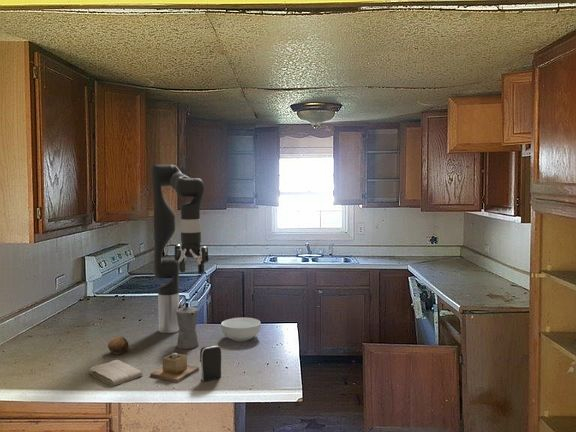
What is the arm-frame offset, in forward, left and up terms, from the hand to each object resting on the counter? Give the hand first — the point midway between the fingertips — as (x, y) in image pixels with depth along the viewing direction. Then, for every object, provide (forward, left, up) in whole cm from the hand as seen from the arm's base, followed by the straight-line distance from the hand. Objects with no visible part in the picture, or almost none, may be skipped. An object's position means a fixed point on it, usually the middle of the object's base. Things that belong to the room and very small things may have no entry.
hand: (191, 272), depth 194 cm
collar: (+16, +4, -32) cm, 36 cm away
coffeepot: (-10, -11, -33) cm, 36 cm away
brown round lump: (+9, -30, -33) cm, 46 cm away
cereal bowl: (-27, +5, -33) cm, 43 cm away
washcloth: (+26, -14, -34) cm, 45 cm away
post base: (+16, +4, -33) cm, 37 cm away
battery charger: (+14, +18, -33) cm, 40 cm away
